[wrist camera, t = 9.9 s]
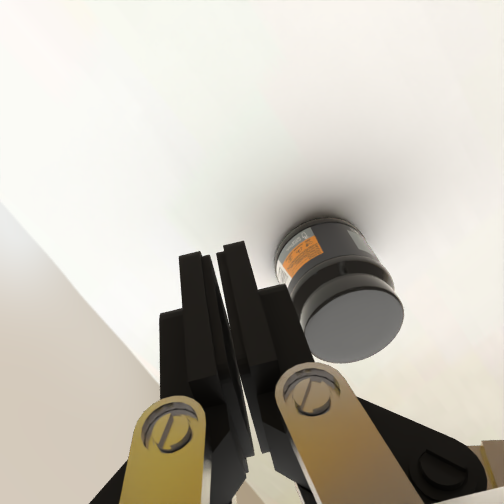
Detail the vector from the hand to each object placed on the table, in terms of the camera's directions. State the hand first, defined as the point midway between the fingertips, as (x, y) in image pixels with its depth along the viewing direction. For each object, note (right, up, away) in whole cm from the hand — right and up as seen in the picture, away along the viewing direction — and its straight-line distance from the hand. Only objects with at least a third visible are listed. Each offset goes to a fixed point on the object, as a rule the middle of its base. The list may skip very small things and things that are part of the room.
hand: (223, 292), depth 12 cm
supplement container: (+8, +1, +40) cm, 41 cm away
